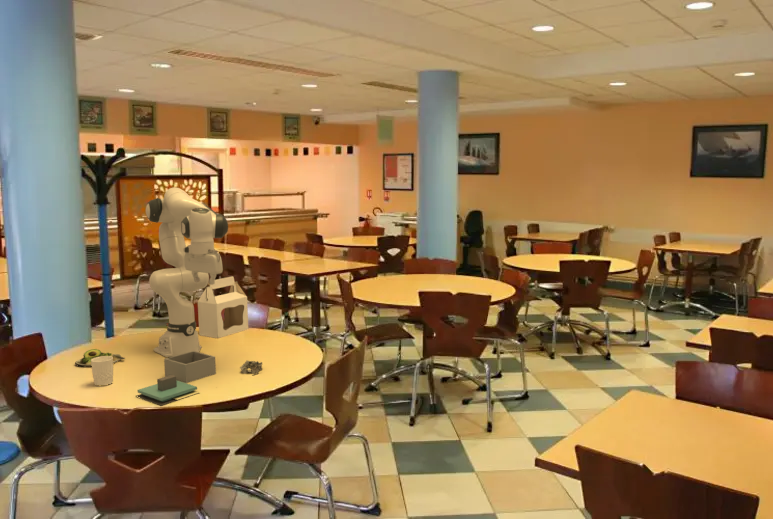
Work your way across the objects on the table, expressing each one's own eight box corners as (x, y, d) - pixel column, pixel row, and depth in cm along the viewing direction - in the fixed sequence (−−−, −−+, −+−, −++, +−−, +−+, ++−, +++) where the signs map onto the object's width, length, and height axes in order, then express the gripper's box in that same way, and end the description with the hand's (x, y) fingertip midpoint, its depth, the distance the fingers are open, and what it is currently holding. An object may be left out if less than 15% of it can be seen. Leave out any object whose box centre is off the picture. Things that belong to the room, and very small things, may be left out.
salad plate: (134, 357, 290) (133, 347, 289) (113, 369, 272) (112, 358, 271) (92, 356, 292) (92, 346, 291) (69, 368, 274) (69, 357, 273)
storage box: (165, 378, 258) (164, 358, 257) (194, 369, 269) (193, 350, 268) (186, 385, 249) (185, 364, 248) (216, 375, 260) (215, 356, 259)
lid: (137, 395, 237) (136, 379, 236) (173, 384, 249) (172, 369, 248) (161, 404, 228) (160, 387, 227) (197, 392, 240) (196, 376, 239)
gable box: (230, 326, 344) (228, 274, 340) (249, 329, 337) (246, 276, 334) (198, 335, 325) (195, 280, 321) (217, 338, 318) (215, 282, 315)
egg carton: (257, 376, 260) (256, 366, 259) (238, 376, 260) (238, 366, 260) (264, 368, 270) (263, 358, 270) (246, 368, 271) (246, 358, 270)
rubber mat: (135, 396, 237) (135, 395, 237) (173, 385, 249) (173, 384, 249) (161, 406, 227) (161, 404, 227) (199, 393, 240) (199, 392, 240)
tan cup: (96, 380, 256) (94, 356, 254) (117, 380, 256) (115, 355, 255) (89, 387, 248) (87, 362, 246) (110, 386, 249) (109, 361, 247)
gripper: (225, 249, 254) (227, 284, 256) (193, 246, 266) (195, 279, 268) (212, 251, 249) (214, 286, 251) (180, 248, 261) (182, 281, 263)
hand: (204, 283), depth 260 cm, fingers open, 8 cm apart
